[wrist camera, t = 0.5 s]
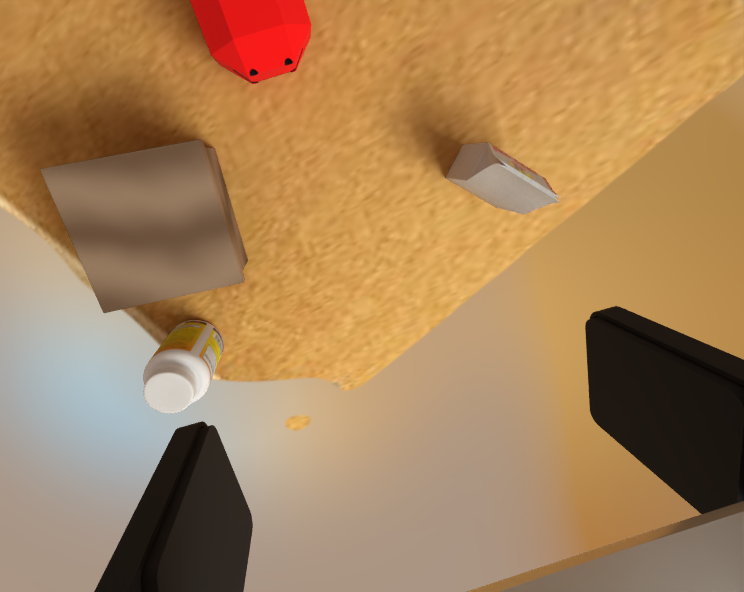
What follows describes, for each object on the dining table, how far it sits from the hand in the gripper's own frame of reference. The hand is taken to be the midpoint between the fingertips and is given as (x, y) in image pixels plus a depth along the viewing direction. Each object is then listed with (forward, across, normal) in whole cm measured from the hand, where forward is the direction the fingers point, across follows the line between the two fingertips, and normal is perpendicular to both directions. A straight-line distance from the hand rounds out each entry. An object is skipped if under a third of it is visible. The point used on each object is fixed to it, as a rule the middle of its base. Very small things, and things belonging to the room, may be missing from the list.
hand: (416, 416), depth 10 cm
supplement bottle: (+35, +17, +8) cm, 39 cm away
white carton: (+34, -17, -2) cm, 38 cm away
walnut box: (+34, +14, -5) cm, 37 cm away
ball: (+34, +2, -18) cm, 38 cm away
